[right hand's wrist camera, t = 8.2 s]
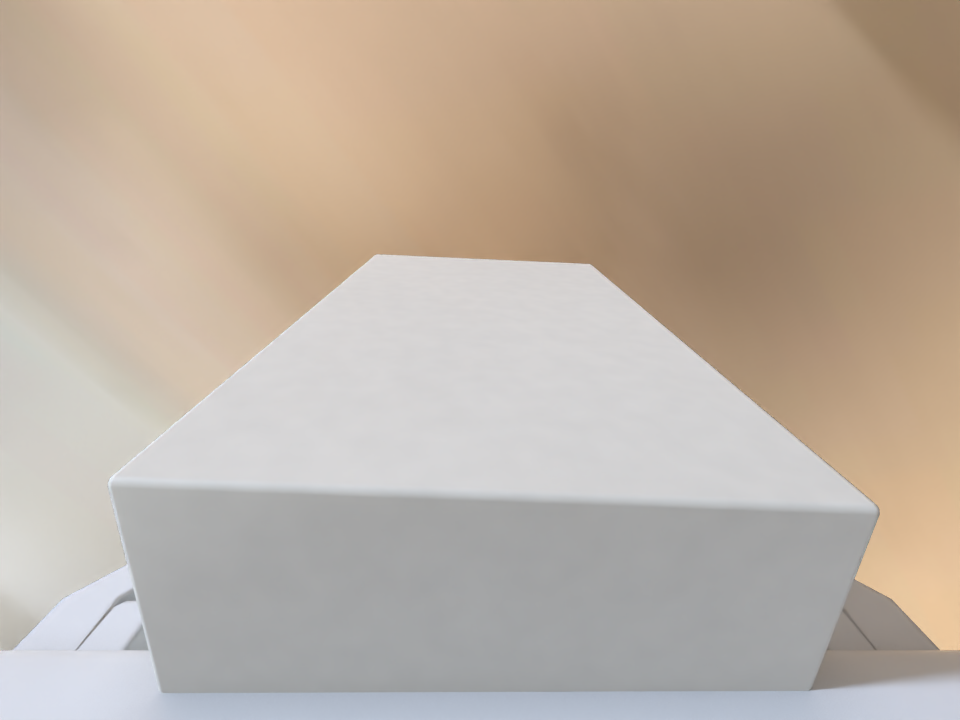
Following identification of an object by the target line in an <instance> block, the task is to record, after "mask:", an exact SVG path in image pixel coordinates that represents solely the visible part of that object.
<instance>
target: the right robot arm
mask: <svg viewBox="0 0 960 720" xmlns="http://www.w3.org/2000/svg"><path fill="white" fill-rule="evenodd" d="M0 720H960V650H939V648H938V647H937V646H936V645H935V644H934V643H933V642H932V641H931V640H930V639H929V638H928V637H927V636H926V635H925V634H924V633H923V632H922V631H921V630H920V629H919V628H918V626H917V625H916V624H915V623H914V622H913V621H912V620H911V619H910V618H909V617H908V616H907V615H906V614H905V613H904V612H903V611H902V610H901V609H900V608H899V607H898V606H897V604H896V603H895V602H894V601H893V600H892V599H890V598H888V597H886V596H885V595H883V594H881V593H879V592H877V591H875V590H873V589H871V588H870V587H868V586H866V585H864V584H862V583H860V582H858V581H856V580H855V579H854V581H853V584H852V586H851V589H850V591H849V594H848V596H847V599H846V602H845V604H844V607H843V609H842V612H841V614H840V617H839V619H838V622H837V625H836V627H835V630H834V632H833V635H832V637H831V640H830V643H829V645H828V648H827V650H826V653H825V655H824V658H823V660H822V663H821V666H820V668H819V671H818V673H817V676H816V678H815V681H814V683H813V686H812V689H810V690H808V691H617V692H338V693H162V692H159V690H158V686H157V682H156V678H155V674H154V670H153V666H152V662H151V658H150V654H149V650H148V646H147V642H146V638H145V634H144V630H143V626H142V622H141V618H140V614H139V610H138V606H137V602H136V598H135V594H134V590H133V586H132V582H131V578H130V574H129V570H128V566H127V565H125V566H123V567H121V568H120V569H118V570H116V571H114V572H112V573H110V574H108V575H106V576H104V577H103V578H101V579H99V580H97V581H95V582H93V583H91V584H89V585H87V586H86V587H84V588H82V589H80V590H78V591H76V592H74V593H72V594H70V595H68V596H67V597H65V598H63V599H62V600H61V601H60V602H59V603H58V604H57V605H56V606H55V607H54V608H53V609H52V610H51V611H50V612H49V613H48V614H47V615H46V616H45V617H44V618H43V619H42V620H41V621H40V622H39V623H38V625H37V626H36V627H35V628H34V629H33V630H32V631H31V632H30V633H29V634H28V635H27V636H26V637H25V638H24V639H23V640H22V641H21V642H20V643H19V644H18V645H17V646H16V647H15V648H14V649H13V650H0Z"/></svg>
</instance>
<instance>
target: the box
mask: <svg viewBox="0 0 960 720" xmlns="http://www.w3.org/2000/svg"><path fill="white" fill-rule="evenodd" d="M108 490H109V494H110V498H111V502H112V506H113V510H114V514H115V518H116V522H117V526H118V530H119V534H120V538H121V542H122V546H123V550H124V554H125V558H126V562H127V566H128V570H129V574H130V578H131V582H132V586H133V590H134V594H135V598H136V602H137V606H138V610H139V614H140V618H141V622H142V626H143V630H144V634H145V638H146V642H147V646H148V650H149V654H150V658H151V662H152V666H153V670H154V674H155V678H156V682H157V686H158V690H159V692H162V693H338V692H617V691H808V690H810V689H812V686H813V683H814V681H815V678H816V676H817V673H818V671H819V668H820V666H821V663H822V660H823V658H824V655H825V653H826V650H827V648H828V645H829V643H830V640H831V637H832V635H833V632H834V630H835V627H836V625H837V622H838V619H839V617H840V614H841V612H842V609H843V607H844V604H845V602H846V599H847V596H848V594H849V591H850V589H851V586H852V584H853V581H854V578H855V576H856V573H857V571H858V568H859V566H860V563H861V561H862V558H863V555H864V553H865V550H866V548H867V545H868V543H869V540H870V538H871V535H872V532H873V530H874V527H875V525H876V522H877V520H878V517H879V514H880V513H879V508H878V506H877V505H876V504H875V503H874V502H873V501H871V500H870V499H869V498H868V497H867V496H866V495H864V494H863V493H862V492H861V491H860V490H858V489H857V488H856V487H855V486H854V485H852V484H851V483H850V482H849V481H848V480H847V479H845V478H844V477H843V476H842V475H841V474H839V473H838V472H837V471H836V470H835V469H833V468H832V467H831V466H830V465H829V464H827V463H826V462H825V461H824V460H823V459H822V458H820V457H819V456H818V455H817V454H816V453H814V452H813V451H812V450H811V449H810V448H808V447H807V446H806V445H805V444H804V443H803V442H801V441H800V440H799V439H798V438H797V437H795V436H794V435H793V434H792V433H791V432H789V431H788V430H787V429H786V428H785V427H784V426H782V425H781V424H780V423H779V422H778V421H776V420H775V419H774V418H773V417H772V416H770V415H769V414H768V413H767V412H766V411H765V410H763V409H762V408H761V407H760V406H759V405H757V404H756V403H755V402H754V401H753V400H751V399H750V398H749V397H748V396H747V395H746V394H744V393H743V392H742V391H741V390H740V389H738V388H737V387H736V386H735V385H734V384H732V383H731V382H730V381H729V380H728V379H727V378H725V377H724V376H723V375H722V374H721V373H719V372H718V371H717V370H716V369H715V368H713V367H712V366H711V365H710V364H709V363H708V362H706V361H705V360H704V359H703V358H702V357H700V356H699V355H698V354H697V353H696V352H694V351H693V350H692V349H691V348H690V347H689V346H687V345H686V344H685V343H684V342H683V341H681V340H680V339H679V338H678V337H677V336H675V335H674V334H673V333H672V332H671V331H669V330H668V329H667V328H666V327H665V326H664V325H662V324H661V323H660V322H659V321H658V320H656V319H655V318H654V317H653V316H652V315H650V314H649V313H648V312H647V311H646V310H645V309H643V308H642V307H641V306H640V305H639V304H637V303H636V302H635V301H634V300H633V299H631V298H630V297H629V296H628V295H627V294H626V293H624V292H623V291H622V290H621V289H620V288H618V287H617V286H616V285H615V284H614V283H612V282H611V281H610V280H609V279H608V278H607V277H605V276H604V275H603V274H602V273H601V272H599V271H598V270H597V269H596V268H595V267H593V266H592V265H591V264H577V263H555V262H533V261H512V260H490V259H468V258H446V257H424V256H403V255H381V254H377V255H375V256H373V257H372V258H371V259H370V260H369V261H368V262H366V263H365V264H364V265H363V266H362V267H360V268H359V269H358V270H357V271H356V272H354V273H353V274H352V275H351V276H350V277H348V278H347V279H346V280H345V281H344V282H343V283H341V284H340V285H339V286H338V287H337V288H335V289H334V290H333V291H332V292H331V293H329V294H328V295H327V296H326V297H325V298H323V299H322V300H321V301H320V302H319V303H317V304H316V305H315V306H314V307H313V308H312V309H310V310H309V311H308V312H307V313H306V314H304V315H303V316H302V317H301V318H300V319H298V320H297V321H296V322H295V323H294V324H292V325H291V326H290V327H289V328H288V329H287V330H285V331H284V332H283V333H282V334H281V335H279V336H278V337H277V338H276V339H275V340H273V341H272V342H271V343H270V344H269V345H267V346H266V347H265V348H264V349H263V350H262V351H260V352H259V353H258V354H257V355H256V356H254V357H253V358H252V359H251V360H250V361H248V362H247V363H246V364H245V365H244V366H242V367H241V368H240V369H239V370H238V371H236V372H235V373H234V374H233V375H232V376H231V377H229V378H228V379H227V380H226V381H225V382H223V383H222V384H221V385H220V386H219V387H217V388H216V389H215V390H214V391H213V392H211V393H210V394H209V395H208V396H207V397H206V398H204V399H203V400H202V401H201V402H200V403H198V404H197V405H196V406H195V407H194V408H192V409H191V410H190V411H189V412H188V413H186V414H185V415H184V416H183V417H182V418H180V419H179V420H178V421H177V422H176V423H175V424H173V425H172V426H171V427H170V428H169V429H167V430H166V431H165V432H164V433H163V434H161V435H160V436H159V437H158V438H157V439H155V440H154V441H153V442H152V443H151V444H150V445H148V446H147V447H146V448H145V449H144V450H142V451H141V452H140V453H139V454H138V455H136V456H135V457H134V458H133V459H132V460H130V461H129V462H128V463H127V464H126V465H125V466H123V467H122V468H121V469H120V470H119V471H117V472H116V473H115V474H114V475H113V476H111V477H110V479H109V482H108Z"/></svg>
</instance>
